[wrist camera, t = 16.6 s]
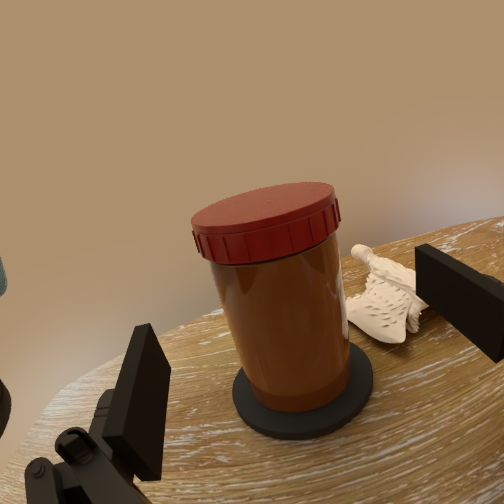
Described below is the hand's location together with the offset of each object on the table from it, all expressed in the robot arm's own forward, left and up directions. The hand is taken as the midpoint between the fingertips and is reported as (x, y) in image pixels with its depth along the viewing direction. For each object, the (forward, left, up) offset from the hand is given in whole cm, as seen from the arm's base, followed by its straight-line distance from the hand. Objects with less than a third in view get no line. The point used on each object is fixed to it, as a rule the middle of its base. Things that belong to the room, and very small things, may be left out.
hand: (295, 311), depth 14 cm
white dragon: (+11, +7, -8) cm, 15 cm away
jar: (0, +4, -7) cm, 8 cm away
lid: (0, +4, +4) cm, 6 cm away
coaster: (0, +4, -8) cm, 9 cm away
